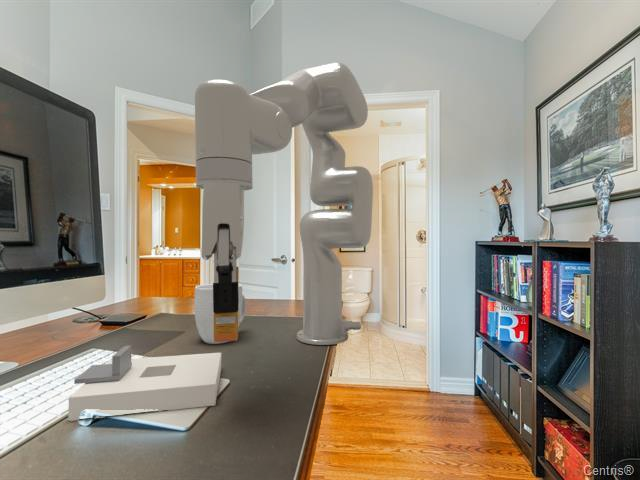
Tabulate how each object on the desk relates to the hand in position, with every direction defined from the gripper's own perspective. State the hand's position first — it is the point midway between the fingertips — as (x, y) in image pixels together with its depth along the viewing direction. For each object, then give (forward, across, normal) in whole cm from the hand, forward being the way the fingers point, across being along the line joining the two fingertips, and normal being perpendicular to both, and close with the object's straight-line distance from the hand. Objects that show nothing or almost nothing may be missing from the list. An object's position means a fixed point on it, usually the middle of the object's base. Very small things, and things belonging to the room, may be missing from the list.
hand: (226, 307), depth 45 cm
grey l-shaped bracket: (+11, -8, -18) cm, 23 cm away
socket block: (+14, -8, -11) cm, 19 cm away
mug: (+15, -35, -3) cm, 38 cm away
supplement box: (+4, 0, 0) cm, 4 cm away
